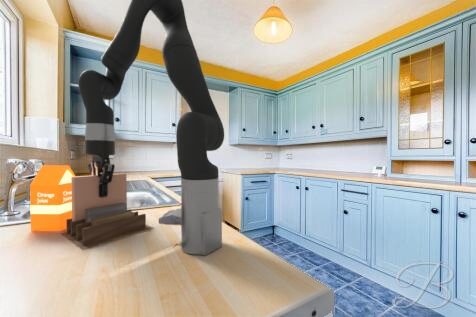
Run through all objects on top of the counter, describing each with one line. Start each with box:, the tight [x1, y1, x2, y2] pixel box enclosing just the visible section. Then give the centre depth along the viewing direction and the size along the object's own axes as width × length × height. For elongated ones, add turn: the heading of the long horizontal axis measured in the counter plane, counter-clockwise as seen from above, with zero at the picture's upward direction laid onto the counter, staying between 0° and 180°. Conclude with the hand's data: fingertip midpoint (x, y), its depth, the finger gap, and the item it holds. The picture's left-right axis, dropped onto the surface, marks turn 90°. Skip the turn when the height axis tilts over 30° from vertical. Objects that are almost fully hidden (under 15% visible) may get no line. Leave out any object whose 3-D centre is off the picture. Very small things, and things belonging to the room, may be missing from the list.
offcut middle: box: [85, 203, 128, 223], centre depth 61 cm, size 3×10×7 cm, turn 144°
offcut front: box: [91, 210, 135, 226], centre depth 58 cm, size 3×10×5 cm, turn 144°
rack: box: [59, 209, 155, 251], centre depth 60 cm, size 18×18×5 cm
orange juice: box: [29, 164, 76, 232], centre depth 64 cm, size 8×9×20 cm
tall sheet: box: [71, 172, 128, 222], centre depth 63 cm, size 2×14×16 cm, turn 144°
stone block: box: [158, 208, 181, 225], centre depth 72 cm, size 12×5×10 cm
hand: (101, 195), depth 63 cm, fingers closed on tall sheet, 2 cm apart
